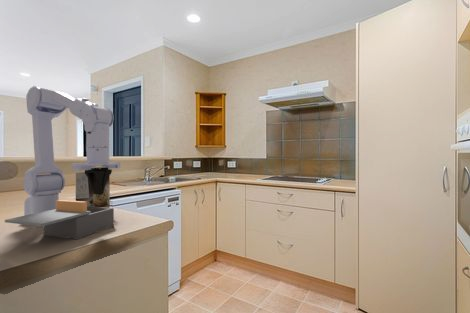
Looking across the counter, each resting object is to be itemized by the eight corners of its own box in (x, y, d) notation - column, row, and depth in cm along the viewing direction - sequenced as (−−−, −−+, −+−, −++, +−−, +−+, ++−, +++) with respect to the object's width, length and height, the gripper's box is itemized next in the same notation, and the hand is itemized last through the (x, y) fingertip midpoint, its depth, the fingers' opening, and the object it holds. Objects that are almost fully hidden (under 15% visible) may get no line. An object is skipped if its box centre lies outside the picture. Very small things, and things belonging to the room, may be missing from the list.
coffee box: (90, 220, 77) (90, 172, 77) (74, 219, 79) (74, 172, 79) (110, 214, 86) (110, 170, 86) (95, 213, 88) (95, 170, 88)
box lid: (4, 222, 55) (4, 208, 55) (58, 210, 67) (58, 199, 67) (41, 226, 51) (41, 212, 51) (91, 213, 63) (90, 201, 63)
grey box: (43, 235, 63) (43, 215, 63) (84, 223, 75) (83, 206, 75) (76, 239, 60) (76, 218, 60) (113, 226, 71) (113, 208, 71)
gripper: (85, 146, 60) (86, 198, 60) (127, 148, 74) (128, 190, 74) (66, 147, 62) (66, 197, 62) (110, 148, 76) (110, 190, 76)
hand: (98, 194), depth 68 cm, fingers closed
